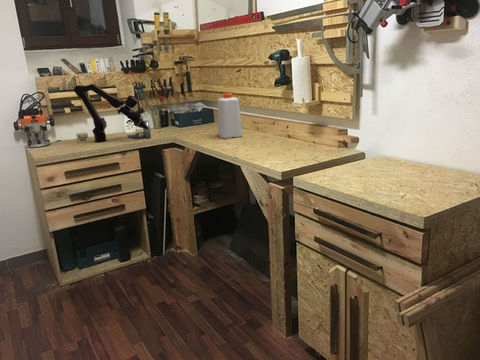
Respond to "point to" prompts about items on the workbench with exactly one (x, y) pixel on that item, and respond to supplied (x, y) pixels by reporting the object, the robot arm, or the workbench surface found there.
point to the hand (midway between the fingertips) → (147, 127)
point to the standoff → (147, 132)
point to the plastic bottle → (229, 117)
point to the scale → (137, 135)
